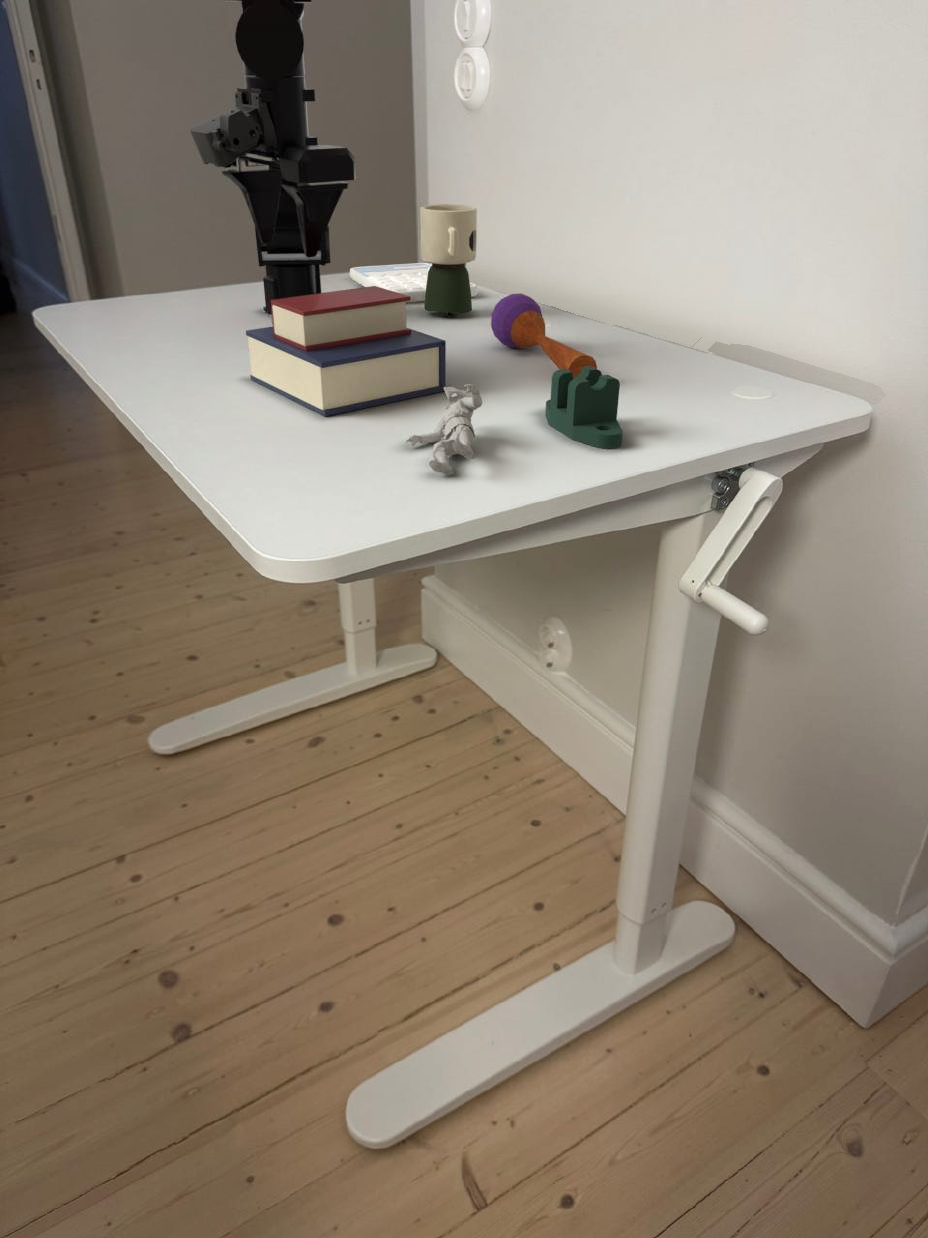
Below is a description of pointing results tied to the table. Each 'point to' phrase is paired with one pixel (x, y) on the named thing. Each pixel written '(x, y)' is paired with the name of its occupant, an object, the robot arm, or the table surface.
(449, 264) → the character mug
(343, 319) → the small book
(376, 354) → the big book
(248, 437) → the table surface
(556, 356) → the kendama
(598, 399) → the mount
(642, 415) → the table surface
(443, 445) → the soldier figure
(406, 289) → the calculator
